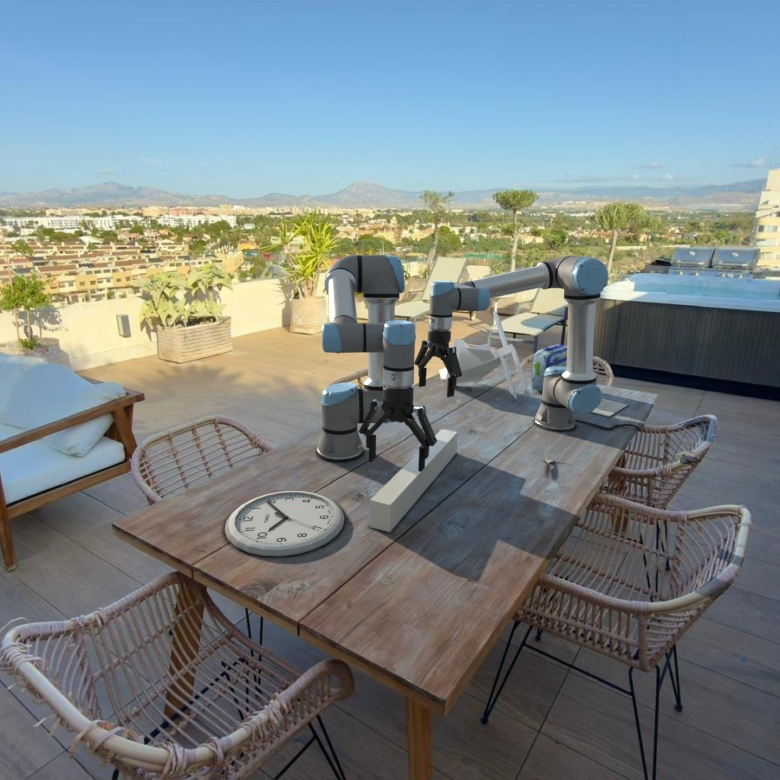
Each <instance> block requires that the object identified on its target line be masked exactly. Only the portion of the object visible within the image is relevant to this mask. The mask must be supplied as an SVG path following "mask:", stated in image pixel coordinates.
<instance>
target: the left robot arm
mask: <svg viewBox="0 0 780 780" xmlns="http://www.w3.org/2000/svg"><path fill="white" fill-rule="evenodd" d="M405 285H406V279H405V273H404V267H403V264H402V260H401V258H400V257H399V256H397V255H390V254H389V255H388V254H350V255H345V256H343V257H341V258H339V259H337V260H336V261H335V262H333V263H332V264H331V266H329V268H328V269H327V271H326V273H325V276H324V289H325V291H326V293H327V301H328V302H327V303H328V322H327V323H326V322H325V323H323V324H322V325H321V349H322V351H323V352H325V353H329V354H330V353H331V354H332V353H333V354H336V355H337V354H352V353H353V354H357V353H359V354H360V353H361V354H362V353H364V354H365V353H367V355H368V357H367V358H368V359H367V360H368V362H367V363H368V366H367V368H368V369H367V370H368V371H367V373H368V375H367V376H368V377H367V378H366V380H365V381H364V382H363V387H361V388H360V387H358V385H357V384H356V383H355V382H338V383H335V384H332V385H329V386H327V387H325V388H323V389H324V390H322V391H321V392H322V393H321V402H320V405H321V425H322V430H321V434H320V437H319V440H318V444H317V449H316V451H317V456H318V457H320V458H322V459H324V460H326V461H330V462H348V461H353V460H356V459H358V458H359V457H361V456H362V455H363V453H364V447H363V442H362V440H361V436H360V435H364V436H365V448H366V449H368V462H370V463H372V462H373V461H375V460H376V459H377V434H374V433H375V432H376V431H377V430H378V429H379V428H380V427H381V426H382V425H383V424H390V423H400V424H402V423H404V424H405V425H406V426H407V427H408V428H409V429H410V431H411V432H412V434H413V435H414V436H415V438H416V439H417V441H418V442H419V444H420V446H418V452H419V468H418V471H419V472H422V470H423V469H424V468H425V459H427V458H428V456H429V446H434V445H435V444H436V442H437V439H436V437H435V435H436V434H435V432H434V430H433V427H432V425H431V422H430V420H429V417H428V416H427V410H426V409H427V408H426V406H425V405H421V406H415V405H414V390H415V387H414V384H415V364H414V362H415V353H416V351H415V350H416V339H417V334H416V325H415V324H414V323H413V322H412V321H409V320H402V319H396V317H395V316H396V303H397V302H398V301H399V300H400V299H401V298H400V295H401V294H403V293H404V292H405V288H406V287H405ZM355 293H357V294H362V299H363V301H364V302H366V303H367V322H358V315H357V307H356V298H355ZM414 413H415V416H416V417H417V418H418V419H417V420H418V422H419V424H420V425H419V424H418V422H417V421H416V418H415V416H414V415H413V414H414ZM358 424H361V426H360V427H359V430H358ZM371 424H373V425H372V426H371V427H370V428H369V426H370V425H371Z"/></svg>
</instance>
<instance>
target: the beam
mask: <svg viewBox="0 0 780 780" xmlns="http://www.w3.org/2000/svg"><path fill="white" fill-rule="evenodd" d="M435 437H436V439H437V442H436V444H435V445H434V446H429V456H428V458H427V459H425V468H424V469H423V470H422V472H419V471H418V468H419V451H418V452H417V453H416V454H415V455H414V456H413V457H412V458H411V459H410V460H409V461H408V462H407V463H406V464H405V465H404V466H402V468H401V469H400V470H399V471H398V472H397V473H395V475H394V476H393V477H392V478H391V479H390V480H389V481H388V482H386V483H385V484H384V486H382V487H381V489H379V491H377V493H375V494H374V495H373V496H372V497H371V498H370V499H369V528H372V529H375V530H379V531H383V532H386V533H391V532H392V531H393V529H394V528H395V527H396V526H397V525H398V523H399V522H400V521H401V520H402V519H403V517H404V516H406V514H407V513H408V511H409V510H410V509H411V508H412V507H413V506H414V504H415V503H416V502H417V501H418V500H419V498H420V497H421V496H422V495H423V494H424V492H426V490H427V489H428V488H429V486H431V484H432V483H433V482H434V480H435V479H437V477H438V476H439V475H440V473H441V472H442V471H443V470H444V469H445V467H447V465H448V464H449V462H450V461H451V460H452V459H453V458H454V457H455V456H456V454H457V451H458V431H455V430H448V429H442V428H441V429H440V430H439V431H438V432H437V433H436V434H435Z"/></svg>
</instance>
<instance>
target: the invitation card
mask: <svg viewBox="0 0 780 780" xmlns="http://www.w3.org/2000/svg"><path fill="white" fill-rule="evenodd" d="M628 406H629V404H627V403H623V402H618V401H614V400H609V399H605V398H602V400H601V402H600V404H599V406H598V407H596V408H595V410H594V411H592V412H591V413H593V414H596V415H600V416H604V417H608V418H609V417H611V416H613V415H614V414H616V413H617V412H619V411H621V410H623V409H624V408H626V407H628Z"/></svg>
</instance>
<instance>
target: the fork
mask: <svg viewBox="0 0 780 780" xmlns="http://www.w3.org/2000/svg"><path fill="white" fill-rule="evenodd" d="M552 452H553V453H552ZM554 455H555V452H554V451H551V452H550V453H548V452H546V453H545V459H544V461H545V462H547V464H546V466H545V475H546V476H548V473H549V471H550V468H551V467H550V464H551V463H553V462H554V458H555V456H554Z"/></svg>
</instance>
